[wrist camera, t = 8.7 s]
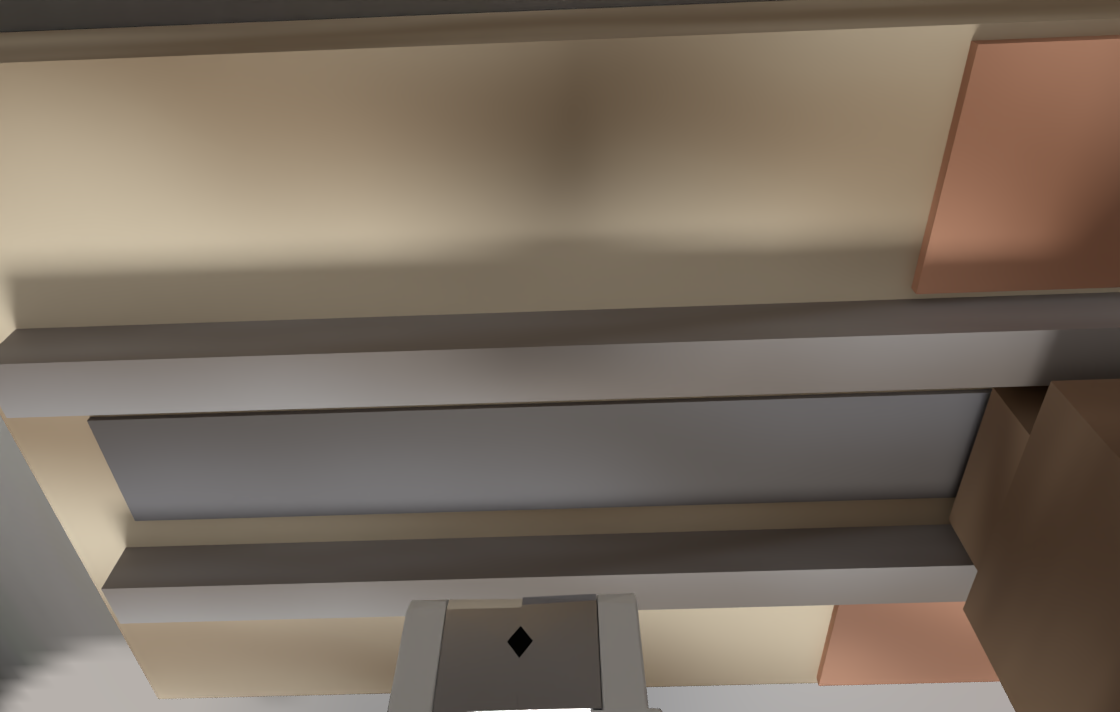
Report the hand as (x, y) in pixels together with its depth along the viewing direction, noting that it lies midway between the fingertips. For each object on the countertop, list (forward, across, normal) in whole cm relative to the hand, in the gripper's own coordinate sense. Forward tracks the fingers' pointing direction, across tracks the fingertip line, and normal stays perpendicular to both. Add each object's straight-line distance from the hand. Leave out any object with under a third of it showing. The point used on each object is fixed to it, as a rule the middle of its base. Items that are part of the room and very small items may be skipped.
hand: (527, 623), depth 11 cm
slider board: (+6, -3, 0) cm, 7 cm away
